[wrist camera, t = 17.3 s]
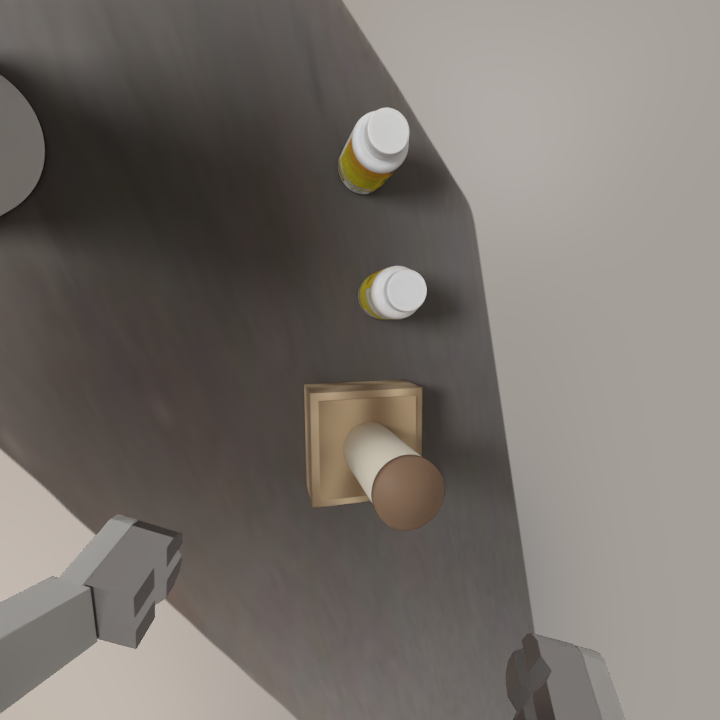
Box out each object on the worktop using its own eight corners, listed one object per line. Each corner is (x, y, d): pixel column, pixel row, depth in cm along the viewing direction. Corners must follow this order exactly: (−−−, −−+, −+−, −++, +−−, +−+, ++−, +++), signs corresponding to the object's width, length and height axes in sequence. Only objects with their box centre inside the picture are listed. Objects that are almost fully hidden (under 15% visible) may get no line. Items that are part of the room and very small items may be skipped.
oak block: (306, 485, 49) (313, 509, 43) (303, 384, 48) (310, 394, 42) (403, 475, 52) (422, 496, 46) (403, 379, 50) (423, 388, 44)
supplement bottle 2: (394, 267, 49) (427, 255, 39) (406, 312, 50) (440, 311, 40) (351, 279, 48) (373, 270, 38) (363, 324, 49) (388, 326, 39)
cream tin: (342, 478, 43) (374, 535, 32) (341, 423, 43) (373, 461, 31) (395, 472, 45) (444, 524, 33) (395, 418, 44) (444, 454, 33)
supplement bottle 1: (374, 204, 48) (405, 174, 38) (329, 182, 46) (349, 145, 36) (392, 158, 47) (427, 116, 38) (347, 134, 46) (372, 85, 36)
